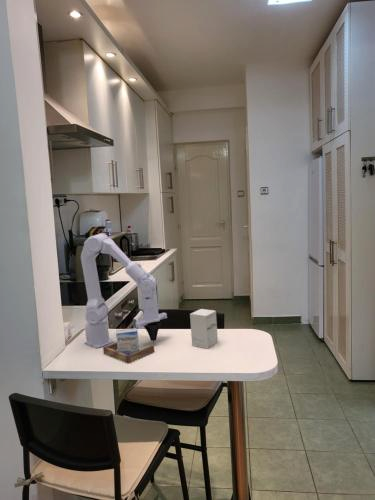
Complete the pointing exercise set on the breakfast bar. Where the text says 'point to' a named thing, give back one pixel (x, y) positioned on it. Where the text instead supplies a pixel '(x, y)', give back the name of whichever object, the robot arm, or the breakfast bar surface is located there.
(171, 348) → the breakfast bar surface
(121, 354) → the walnut bay
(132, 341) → the medicine box
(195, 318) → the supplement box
